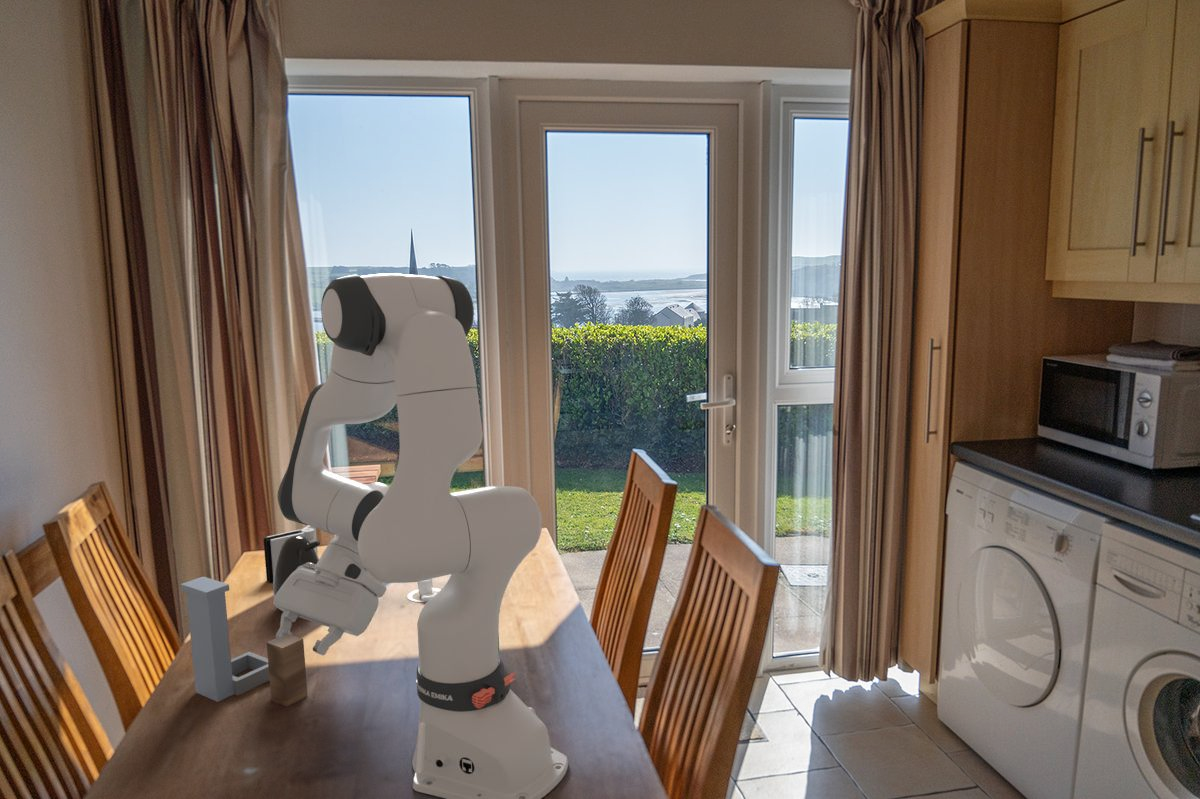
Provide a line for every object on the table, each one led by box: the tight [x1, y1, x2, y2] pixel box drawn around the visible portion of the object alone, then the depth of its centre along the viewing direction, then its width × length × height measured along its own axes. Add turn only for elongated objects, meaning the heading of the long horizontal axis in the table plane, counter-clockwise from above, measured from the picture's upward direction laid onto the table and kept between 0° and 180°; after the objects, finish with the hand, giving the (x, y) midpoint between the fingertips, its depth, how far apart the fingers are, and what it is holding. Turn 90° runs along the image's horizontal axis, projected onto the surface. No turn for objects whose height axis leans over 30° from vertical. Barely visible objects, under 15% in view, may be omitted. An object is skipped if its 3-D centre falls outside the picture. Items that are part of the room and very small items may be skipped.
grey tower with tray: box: [180, 576, 270, 703], centre depth 145 cm, size 8×12×19 cm
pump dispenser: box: [272, 535, 321, 596], centre depth 178 cm, size 10×10×15 cm
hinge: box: [263, 525, 319, 584], centre depth 197 cm, size 14×5×10 cm, turn 144°
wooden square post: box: [266, 633, 308, 707], centre depth 141 cm, size 4×4×10 cm
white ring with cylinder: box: [406, 578, 442, 603], centre depth 184 cm, size 9×8×4 cm
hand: (298, 646), depth 142 cm, fingers open, 8 cm apart
